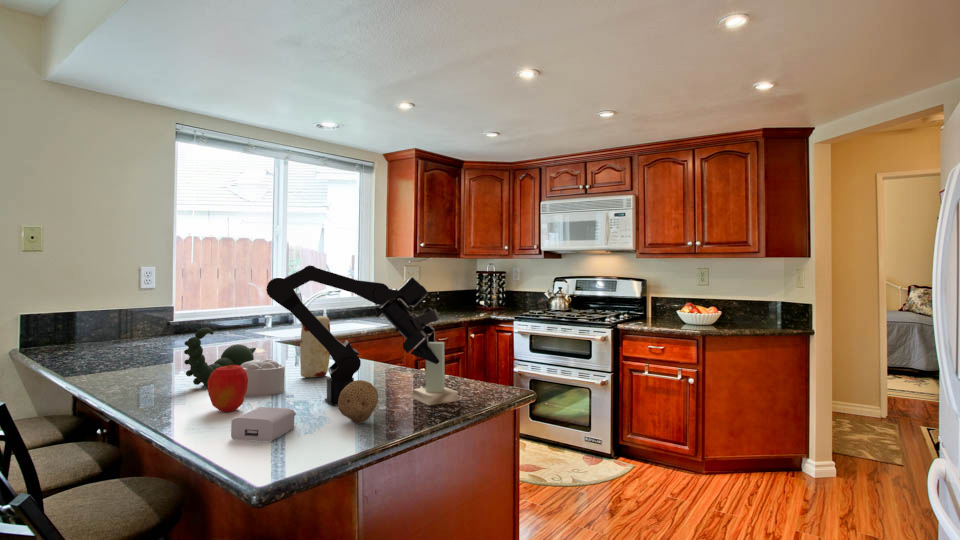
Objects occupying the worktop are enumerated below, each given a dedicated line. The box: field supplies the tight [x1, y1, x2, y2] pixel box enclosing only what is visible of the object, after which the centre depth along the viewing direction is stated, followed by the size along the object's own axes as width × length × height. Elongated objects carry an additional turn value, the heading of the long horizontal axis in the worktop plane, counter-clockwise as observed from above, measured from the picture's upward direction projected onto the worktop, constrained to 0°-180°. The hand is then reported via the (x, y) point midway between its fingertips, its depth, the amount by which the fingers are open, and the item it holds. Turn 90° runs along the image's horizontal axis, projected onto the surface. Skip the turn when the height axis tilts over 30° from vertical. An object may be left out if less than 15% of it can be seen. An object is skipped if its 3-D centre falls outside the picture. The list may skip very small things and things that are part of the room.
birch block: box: [412, 386, 459, 406], centre depth 140 cm, size 9×9×3 cm
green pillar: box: [425, 341, 446, 392], centre depth 140 cm, size 4×4×13 cm
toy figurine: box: [183, 327, 257, 387], centre depth 156 cm, size 9×19×25 cm
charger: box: [230, 406, 297, 443], centre depth 112 cm, size 5×9×15 cm
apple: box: [207, 363, 248, 413], centre depth 126 cm, size 9×9×12 cm
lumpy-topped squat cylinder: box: [240, 358, 286, 396], centre depth 147 cm, size 10×13×9 cm
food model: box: [299, 315, 331, 378], centre depth 167 cm, size 10×7×20 cm
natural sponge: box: [337, 379, 379, 425], centre depth 117 cm, size 9×9×10 cm
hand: (440, 359), depth 140 cm, fingers open, 9 cm apart
